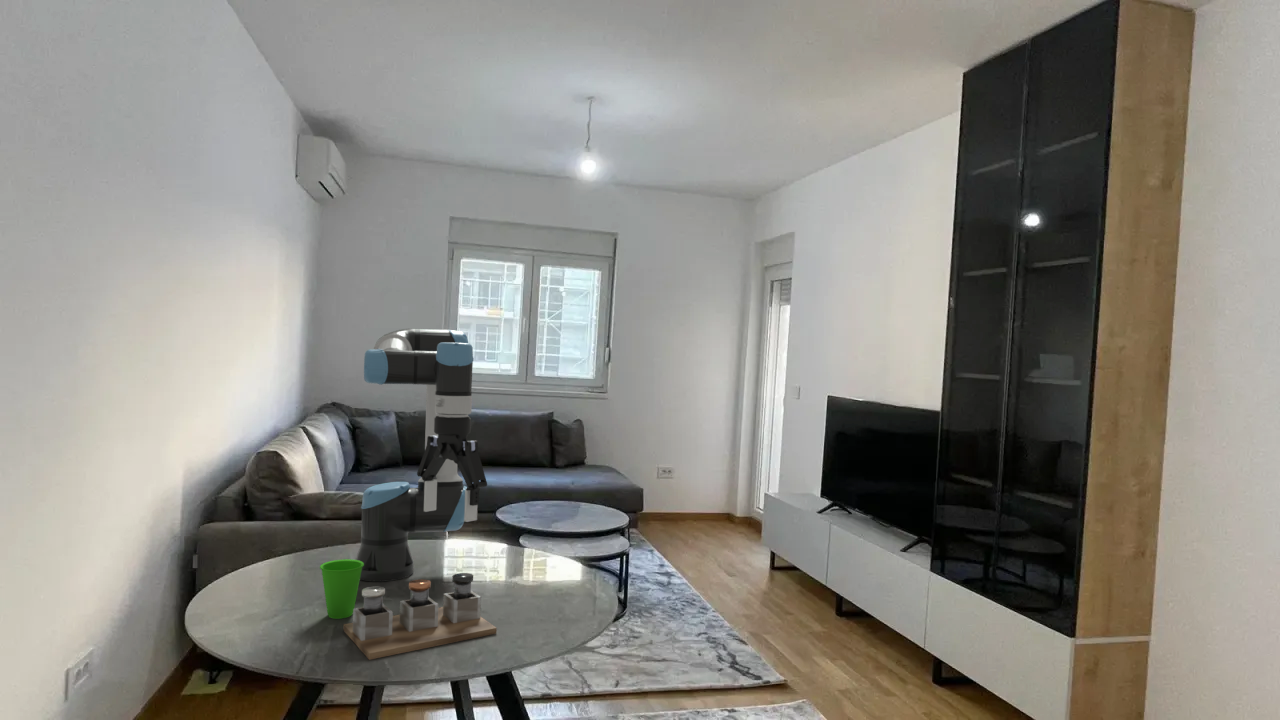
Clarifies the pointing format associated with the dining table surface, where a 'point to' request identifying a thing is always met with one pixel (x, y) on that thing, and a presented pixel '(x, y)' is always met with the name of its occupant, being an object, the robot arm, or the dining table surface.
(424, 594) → the copper domed cylinder
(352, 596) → the cup
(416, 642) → the panel
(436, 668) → the dining table surface
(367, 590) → the offwhite plunger
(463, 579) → the black plunger
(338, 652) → the dining table surface
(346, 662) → the dining table surface
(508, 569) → the dining table surface
